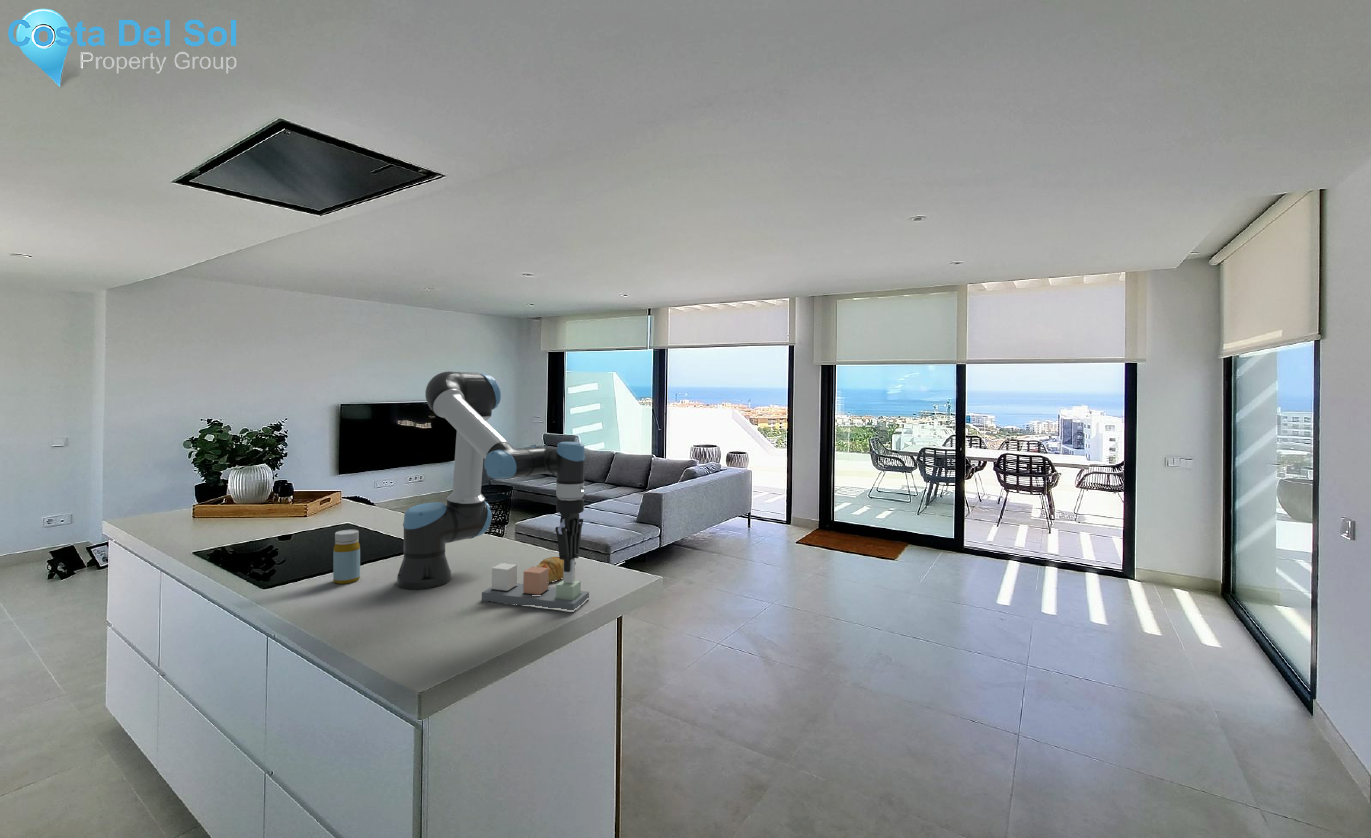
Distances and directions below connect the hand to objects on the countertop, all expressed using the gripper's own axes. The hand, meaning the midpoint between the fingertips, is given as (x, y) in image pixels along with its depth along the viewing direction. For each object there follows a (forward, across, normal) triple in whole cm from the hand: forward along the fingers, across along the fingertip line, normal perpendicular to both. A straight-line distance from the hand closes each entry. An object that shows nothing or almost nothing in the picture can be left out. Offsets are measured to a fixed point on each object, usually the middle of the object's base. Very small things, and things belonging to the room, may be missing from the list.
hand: (568, 582), depth 159 cm
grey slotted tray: (+6, 0, +10) cm, 12 cm away
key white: (+4, 0, +20) cm, 20 cm away
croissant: (+7, +20, +16) cm, 26 cm away
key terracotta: (+4, 0, +10) cm, 11 cm away
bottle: (+6, -3, +72) cm, 72 cm away
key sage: (+6, 0, 0) cm, 6 cm away
